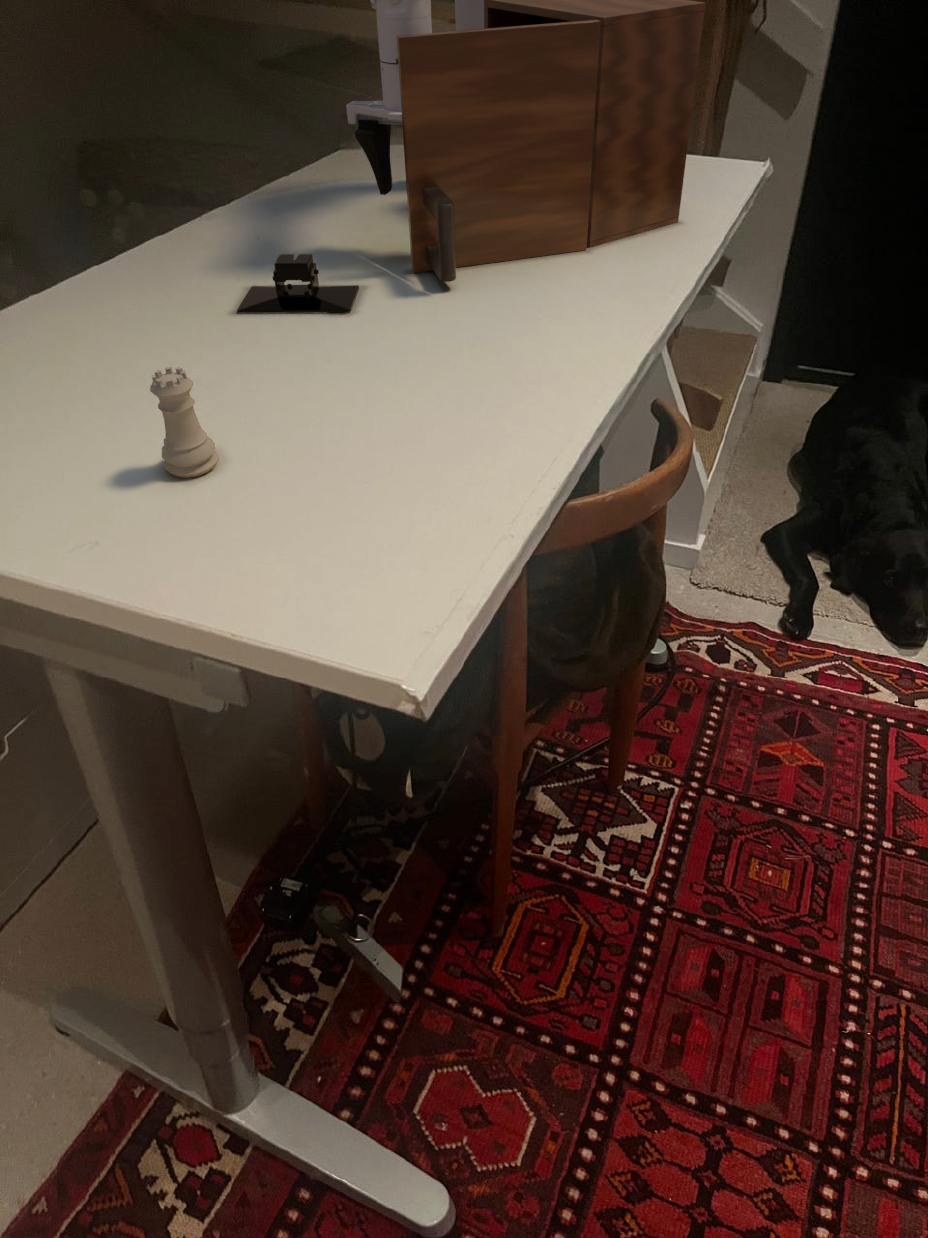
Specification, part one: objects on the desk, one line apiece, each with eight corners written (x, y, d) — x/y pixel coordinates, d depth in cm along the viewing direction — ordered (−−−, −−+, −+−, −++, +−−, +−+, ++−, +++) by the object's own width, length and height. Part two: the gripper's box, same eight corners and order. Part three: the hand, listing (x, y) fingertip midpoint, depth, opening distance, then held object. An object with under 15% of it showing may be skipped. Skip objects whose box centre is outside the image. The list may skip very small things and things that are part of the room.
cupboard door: (609, 269, 103) (628, 30, 88) (428, 294, 99) (415, 47, 84) (583, 247, 109) (596, 19, 94) (411, 270, 105) (396, 35, 89)
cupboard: (589, 248, 109) (604, 17, 94) (485, 206, 123) (483, -2, 107) (678, 222, 115) (705, 2, 100) (570, 185, 129) (579, -14, 113)
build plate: (359, 289, 102) (355, 247, 98) (350, 315, 96) (345, 271, 93) (252, 288, 102) (244, 246, 99) (236, 314, 97) (228, 271, 94)
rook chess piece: (169, 452, 75) (144, 363, 70) (223, 449, 75) (202, 359, 70) (160, 481, 72) (133, 389, 66) (216, 477, 72) (194, 385, 66)
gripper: (329, 63, 95) (343, 199, 104) (457, 68, 91) (461, 209, 100) (356, 51, 100) (368, 182, 109) (479, 55, 96) (481, 190, 105)
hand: (414, 194), depth 105 cm, fingers open, 7 cm apart
